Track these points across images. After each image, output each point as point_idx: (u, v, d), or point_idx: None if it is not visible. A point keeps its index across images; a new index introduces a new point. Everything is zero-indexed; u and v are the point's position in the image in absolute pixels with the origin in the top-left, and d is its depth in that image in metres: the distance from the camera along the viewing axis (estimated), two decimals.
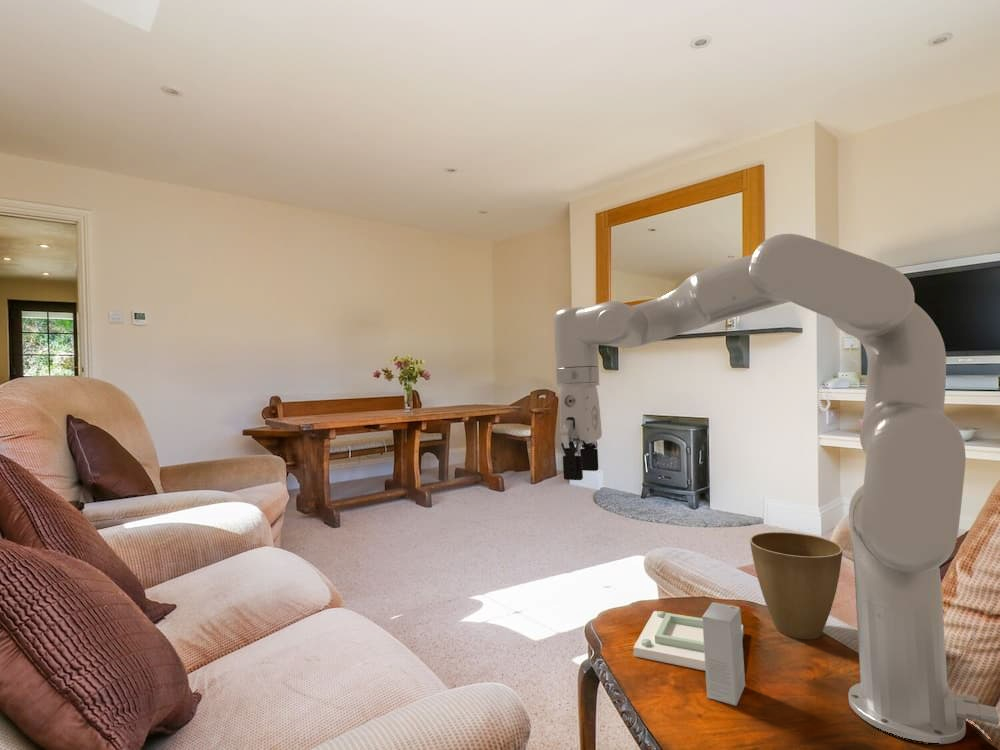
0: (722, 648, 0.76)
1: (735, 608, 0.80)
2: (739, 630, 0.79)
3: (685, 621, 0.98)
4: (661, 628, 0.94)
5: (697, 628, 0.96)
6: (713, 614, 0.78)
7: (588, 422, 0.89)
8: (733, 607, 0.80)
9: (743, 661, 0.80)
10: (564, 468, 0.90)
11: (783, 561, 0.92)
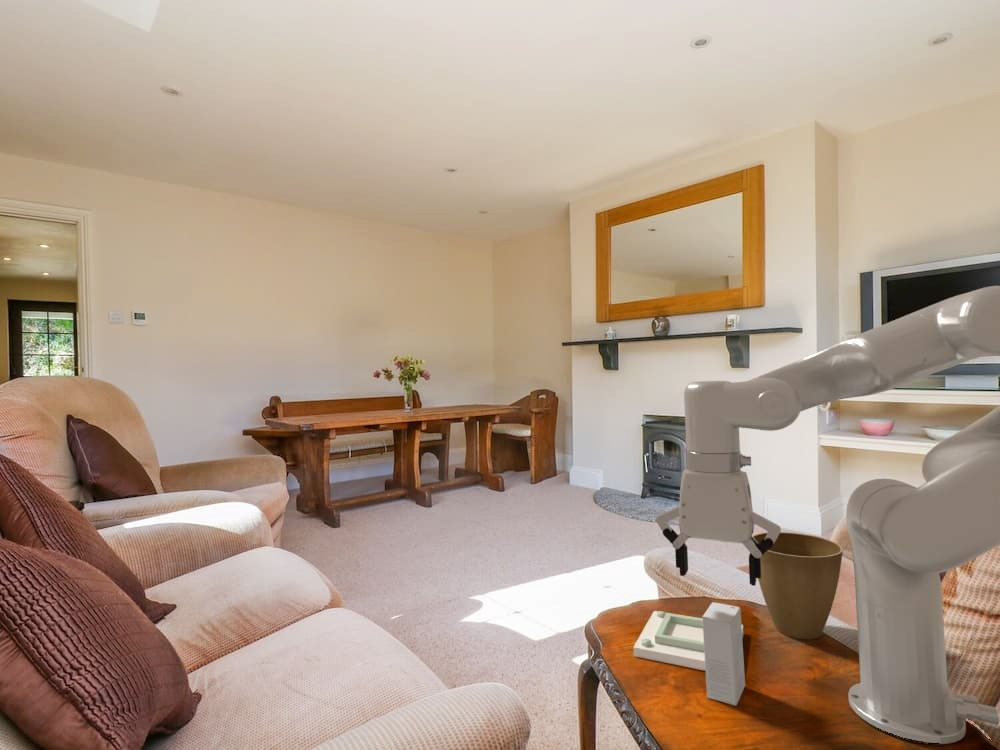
0: (722, 648, 0.76)
1: (735, 608, 0.80)
2: (739, 630, 0.79)
3: (685, 621, 0.98)
4: (661, 628, 0.94)
5: (697, 628, 0.96)
6: (713, 614, 0.78)
7: None
8: (733, 607, 0.80)
9: (743, 661, 0.80)
10: (754, 572, 0.76)
11: (783, 561, 0.92)
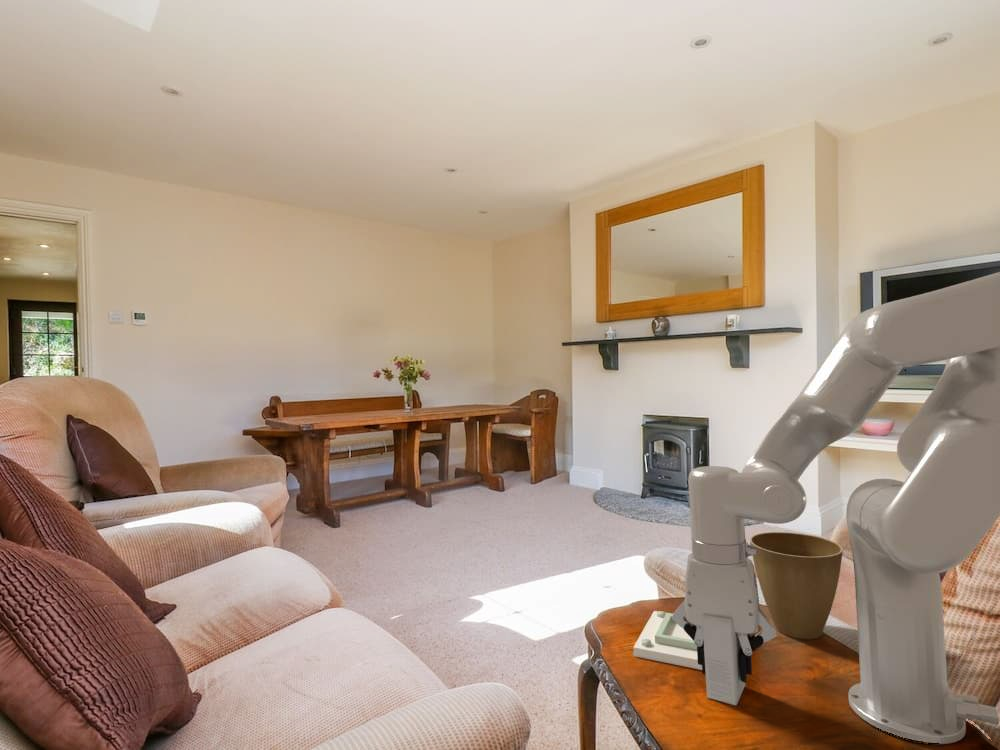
0: (722, 648, 0.76)
1: None
2: None
3: None
4: (661, 628, 0.94)
5: None
6: None
7: None
8: None
9: None
10: (745, 670, 0.76)
11: (783, 561, 0.92)
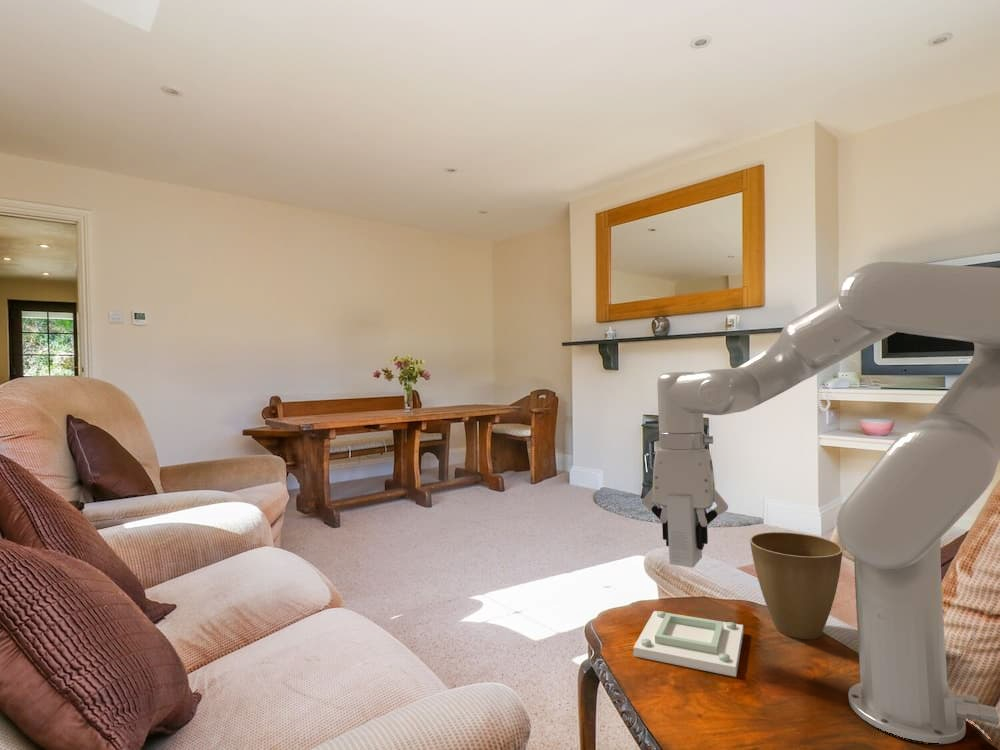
0: (682, 521, 0.90)
1: None
2: None
3: (685, 621, 0.98)
4: (661, 628, 0.94)
5: (697, 628, 0.96)
6: None
7: None
8: None
9: None
10: (701, 539, 0.91)
11: (783, 561, 0.92)
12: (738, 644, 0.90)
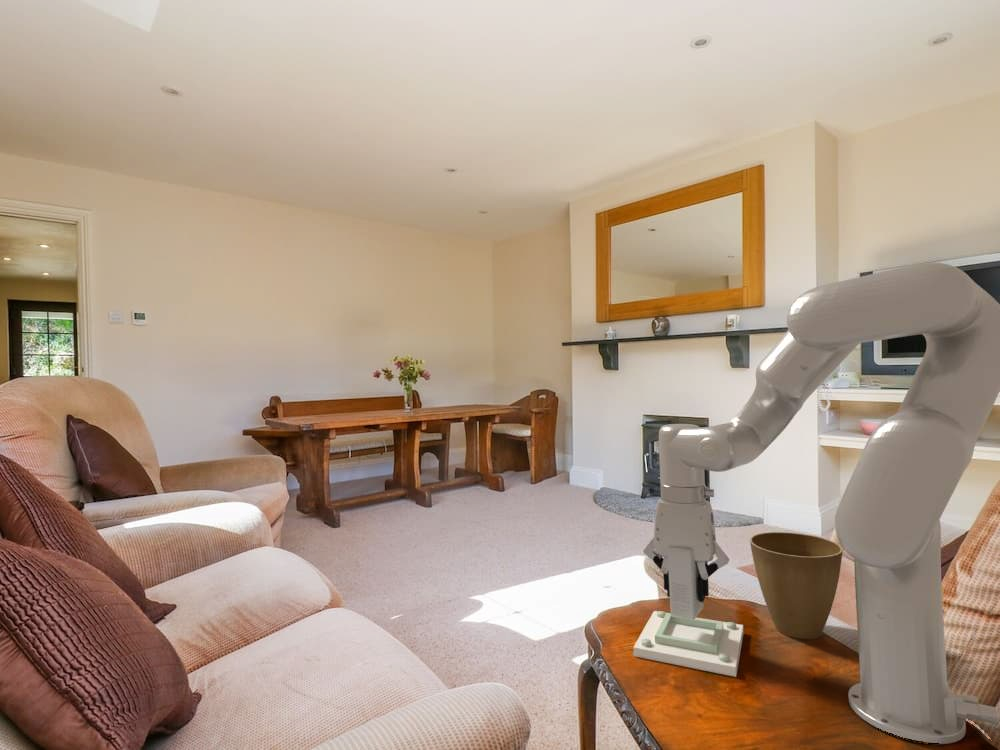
0: (683, 573, 0.91)
1: None
2: None
3: (685, 621, 0.98)
4: (661, 628, 0.94)
5: (697, 628, 0.96)
6: None
7: None
8: None
9: None
10: (702, 591, 0.91)
11: (783, 561, 0.92)
12: (738, 644, 0.90)
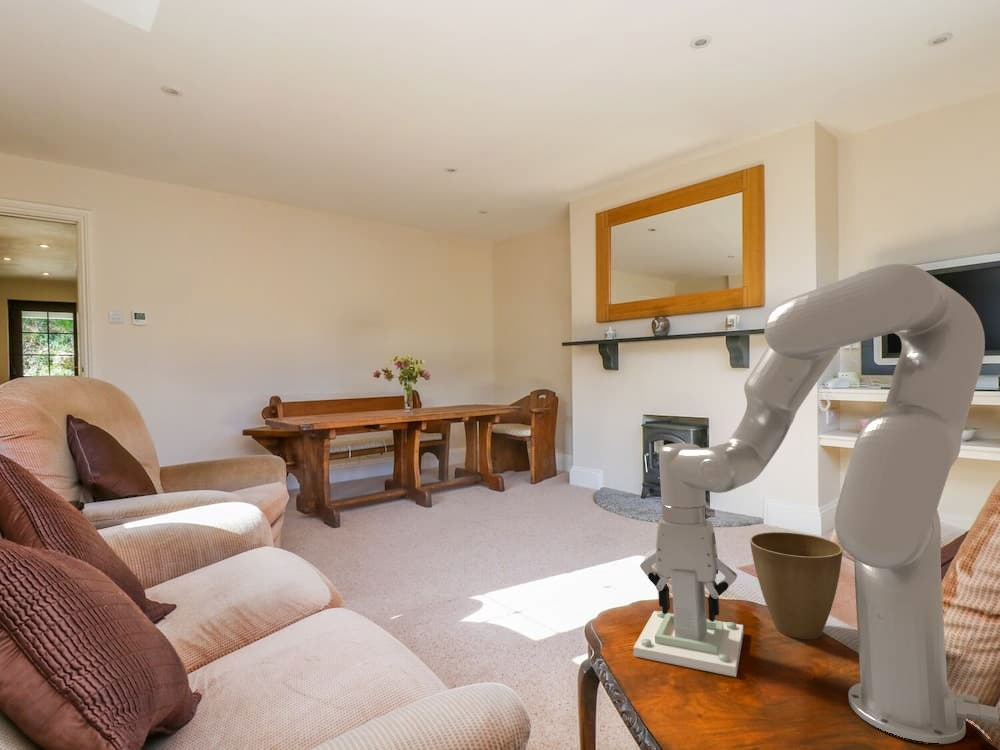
0: (687, 597, 0.91)
1: None
2: (702, 583, 0.94)
3: None
4: (661, 628, 0.94)
5: None
6: None
7: None
8: None
9: (705, 610, 0.95)
10: (713, 611, 0.90)
11: (783, 561, 0.92)
12: (738, 644, 0.90)
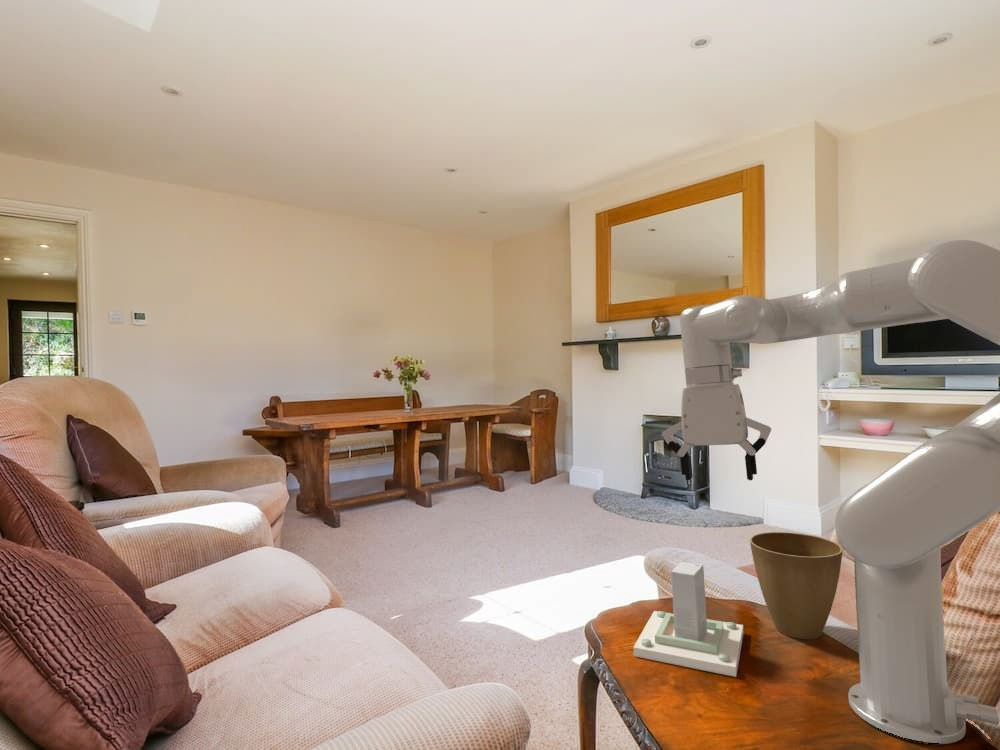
0: (687, 597, 0.91)
1: (699, 565, 0.95)
2: (702, 583, 0.94)
3: None
4: (661, 628, 0.94)
5: None
6: (680, 570, 0.93)
7: None
8: (697, 565, 0.95)
9: (705, 610, 0.95)
10: (750, 468, 0.86)
11: (783, 561, 0.92)
12: (738, 644, 0.90)
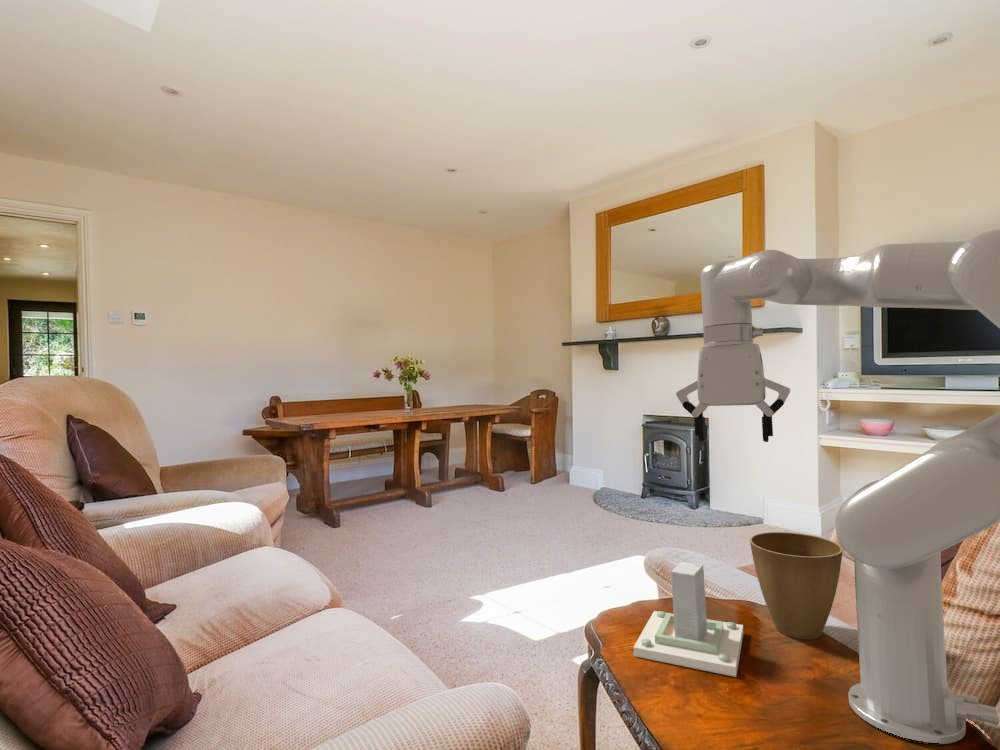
0: (687, 597, 0.91)
1: (699, 565, 0.95)
2: (702, 583, 0.94)
3: None
4: (661, 628, 0.94)
5: None
6: (680, 570, 0.93)
7: None
8: (697, 565, 0.95)
9: (705, 610, 0.95)
10: (767, 430, 0.84)
11: (783, 561, 0.92)
12: (738, 644, 0.90)
